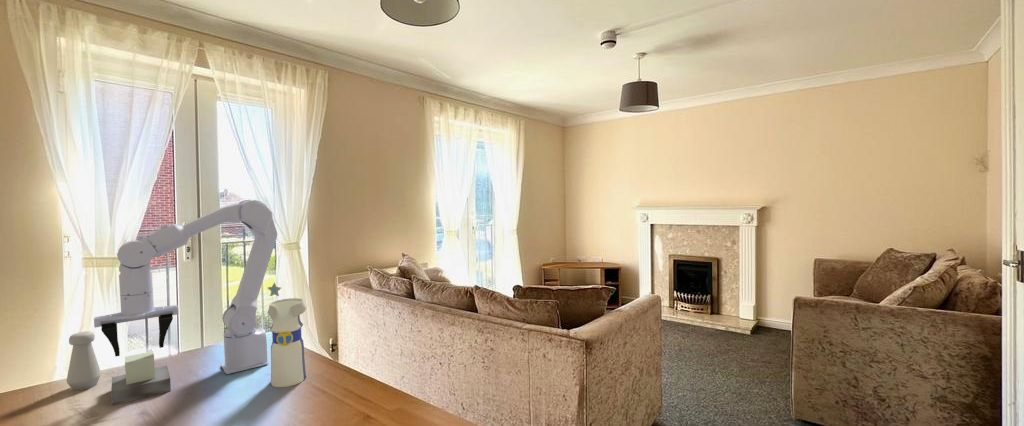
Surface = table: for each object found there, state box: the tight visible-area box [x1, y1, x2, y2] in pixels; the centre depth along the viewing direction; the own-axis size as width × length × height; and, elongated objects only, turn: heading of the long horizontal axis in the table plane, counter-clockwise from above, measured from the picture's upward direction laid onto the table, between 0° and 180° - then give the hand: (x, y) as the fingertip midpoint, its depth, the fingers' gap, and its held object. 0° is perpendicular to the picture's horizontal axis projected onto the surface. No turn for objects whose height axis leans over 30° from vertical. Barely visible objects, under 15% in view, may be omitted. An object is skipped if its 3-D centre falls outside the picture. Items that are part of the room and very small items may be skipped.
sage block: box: [124, 351, 156, 385], centre depth 99 cm, size 5×5×5 cm
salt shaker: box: [66, 330, 102, 391], centre depth 102 cm, size 6×6×13 cm
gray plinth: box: [110, 365, 172, 406], centre depth 100 cm, size 10×10×3 cm
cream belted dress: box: [267, 282, 308, 388], centre depth 104 cm, size 8×9×25 cm
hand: (139, 350), depth 99 cm, fingers open, 7 cm apart
